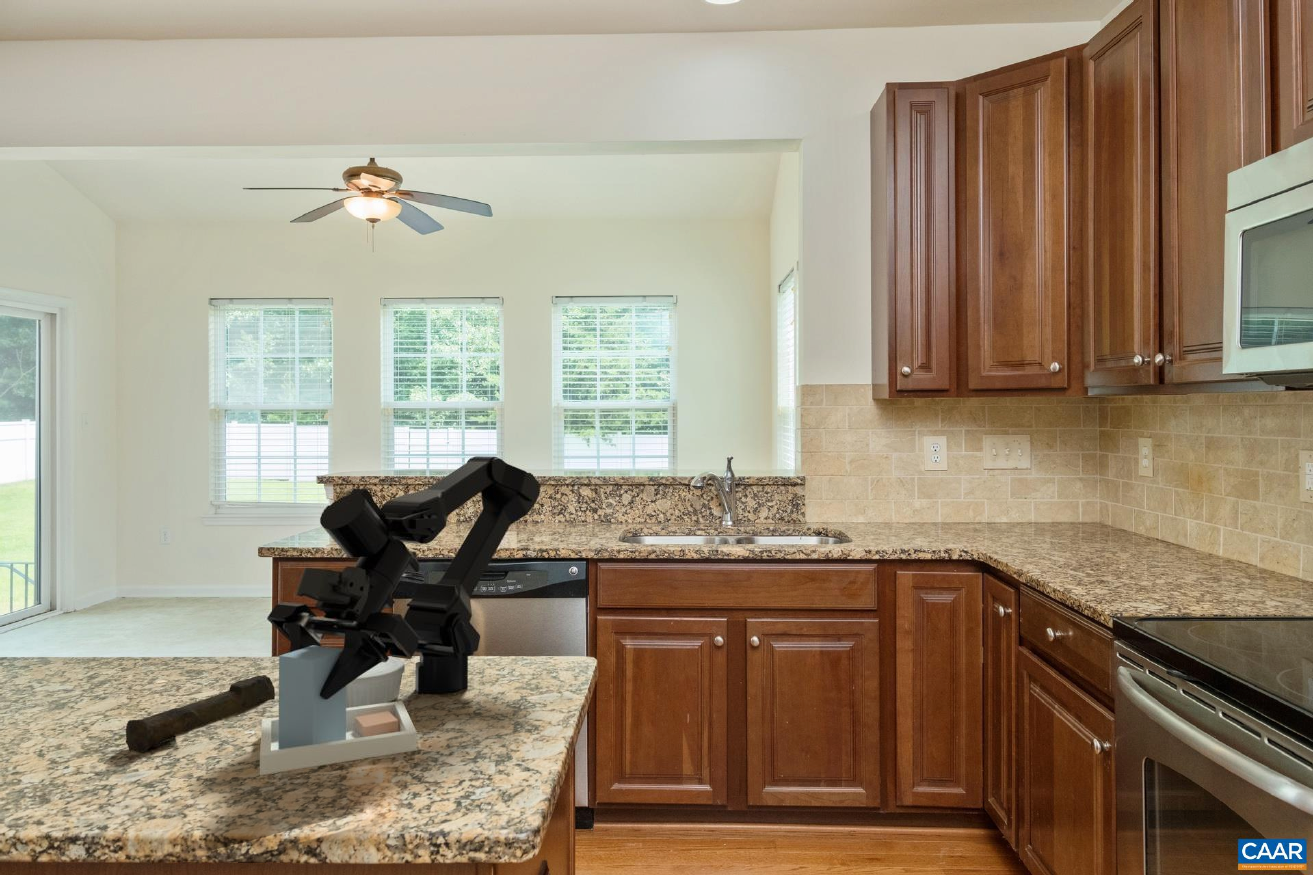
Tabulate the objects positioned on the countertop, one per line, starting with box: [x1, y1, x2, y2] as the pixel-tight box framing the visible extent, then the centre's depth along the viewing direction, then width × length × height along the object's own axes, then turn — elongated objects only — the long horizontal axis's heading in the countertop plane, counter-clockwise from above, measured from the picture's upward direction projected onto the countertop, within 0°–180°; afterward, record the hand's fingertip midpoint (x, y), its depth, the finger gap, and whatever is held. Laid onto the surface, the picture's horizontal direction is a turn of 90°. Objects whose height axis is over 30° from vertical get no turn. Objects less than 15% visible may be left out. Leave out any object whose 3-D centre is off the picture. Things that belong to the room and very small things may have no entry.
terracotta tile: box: [355, 711, 398, 737], centre depth 96 cm, size 4×4×2 cm
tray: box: [259, 700, 418, 776], centre depth 92 cm, size 16×12×3 cm
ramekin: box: [346, 656, 406, 708], centre depth 108 cm, size 11×11×5 cm
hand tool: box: [125, 674, 276, 754], centre depth 100 cm, size 19×4×5 cm, turn 153°
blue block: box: [278, 645, 346, 750], centre depth 90 cm, size 5×5×11 cm
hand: (303, 694), depth 89 cm, fingers open, 5 cm apart
